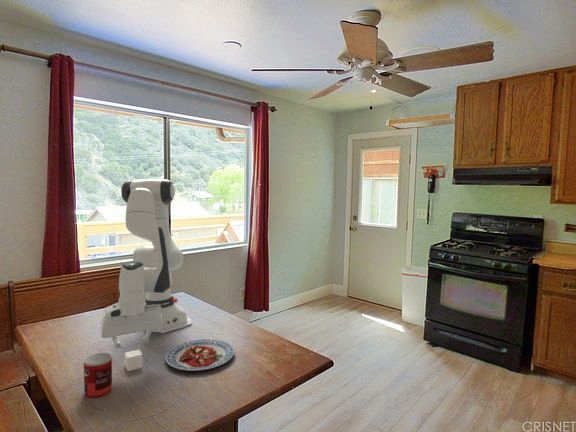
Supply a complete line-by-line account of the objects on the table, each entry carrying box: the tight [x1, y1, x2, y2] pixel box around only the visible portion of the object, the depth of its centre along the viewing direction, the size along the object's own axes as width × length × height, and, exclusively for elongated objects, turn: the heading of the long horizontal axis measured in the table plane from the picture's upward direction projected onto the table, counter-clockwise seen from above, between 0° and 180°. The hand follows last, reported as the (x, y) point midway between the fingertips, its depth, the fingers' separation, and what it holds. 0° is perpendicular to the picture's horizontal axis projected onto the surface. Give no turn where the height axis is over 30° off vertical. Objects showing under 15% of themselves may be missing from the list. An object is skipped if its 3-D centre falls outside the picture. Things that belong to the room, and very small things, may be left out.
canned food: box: [83, 352, 113, 399], centre depth 111 cm, size 8×8×11 cm
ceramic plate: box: [165, 338, 235, 372], centre depth 135 cm, size 26×26×3 cm
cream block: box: [124, 349, 143, 372], centre depth 127 cm, size 5×5×5 cm
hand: (131, 344), depth 126 cm, fingers open, 8 cm apart
